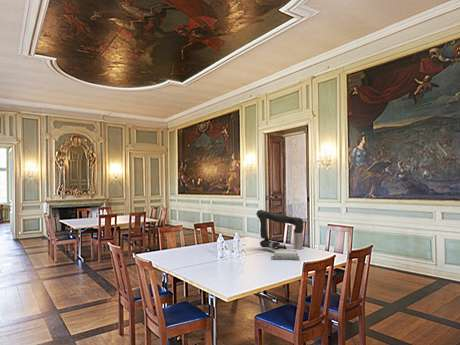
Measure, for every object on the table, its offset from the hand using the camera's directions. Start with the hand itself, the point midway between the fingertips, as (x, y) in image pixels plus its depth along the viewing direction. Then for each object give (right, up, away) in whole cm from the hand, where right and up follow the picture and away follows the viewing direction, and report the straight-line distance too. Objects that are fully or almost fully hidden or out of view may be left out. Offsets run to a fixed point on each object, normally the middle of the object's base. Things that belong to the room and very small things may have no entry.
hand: (286, 248), depth 314 cm
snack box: (-2, -3, -5) cm, 6 cm away
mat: (-3, -6, -14) cm, 15 cm away
